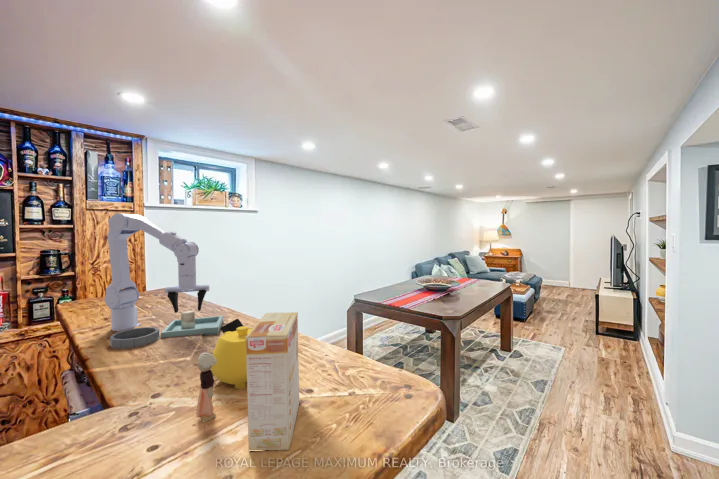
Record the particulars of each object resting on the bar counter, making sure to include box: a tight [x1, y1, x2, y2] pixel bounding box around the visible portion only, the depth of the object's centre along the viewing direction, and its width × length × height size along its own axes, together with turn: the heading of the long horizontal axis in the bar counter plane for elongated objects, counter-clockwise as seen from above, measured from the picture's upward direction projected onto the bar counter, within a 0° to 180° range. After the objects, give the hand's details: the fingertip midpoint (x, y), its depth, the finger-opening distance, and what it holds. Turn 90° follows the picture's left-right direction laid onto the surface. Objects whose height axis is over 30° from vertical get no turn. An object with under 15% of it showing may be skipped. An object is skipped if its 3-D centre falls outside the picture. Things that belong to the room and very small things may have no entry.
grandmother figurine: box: [195, 352, 217, 422], centre depth 61 cm, size 8×4×13 cm, turn 45°
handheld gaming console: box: [220, 318, 244, 334], centre depth 107 cm, size 12×7×10 cm
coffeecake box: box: [245, 311, 300, 451], centre depth 58 cm, size 15×7×20 cm, turn 4°
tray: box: [160, 315, 224, 339], centre depth 116 cm, size 16×18×2 cm
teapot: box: [210, 325, 253, 390], centre depth 77 cm, size 14×20×13 cm
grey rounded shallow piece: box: [109, 326, 160, 350], centre depth 103 cm, size 13×13×4 cm
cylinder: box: [180, 310, 196, 330], centre depth 115 cm, size 4×4×6 cm
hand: (188, 311), depth 115 cm, fingers open, 7 cm apart
